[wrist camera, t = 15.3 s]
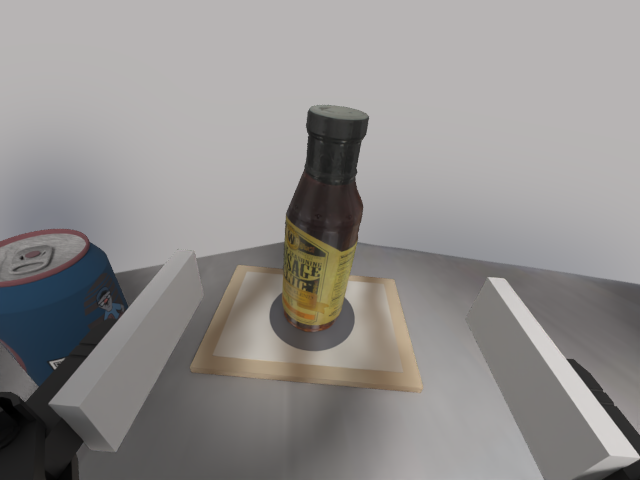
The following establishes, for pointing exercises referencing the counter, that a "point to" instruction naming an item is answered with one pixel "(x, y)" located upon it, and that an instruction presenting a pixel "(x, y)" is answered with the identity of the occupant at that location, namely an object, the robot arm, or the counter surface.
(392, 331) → the wooden picture frame
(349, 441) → the counter surface
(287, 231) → the sauce bottle
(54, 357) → the soda can
